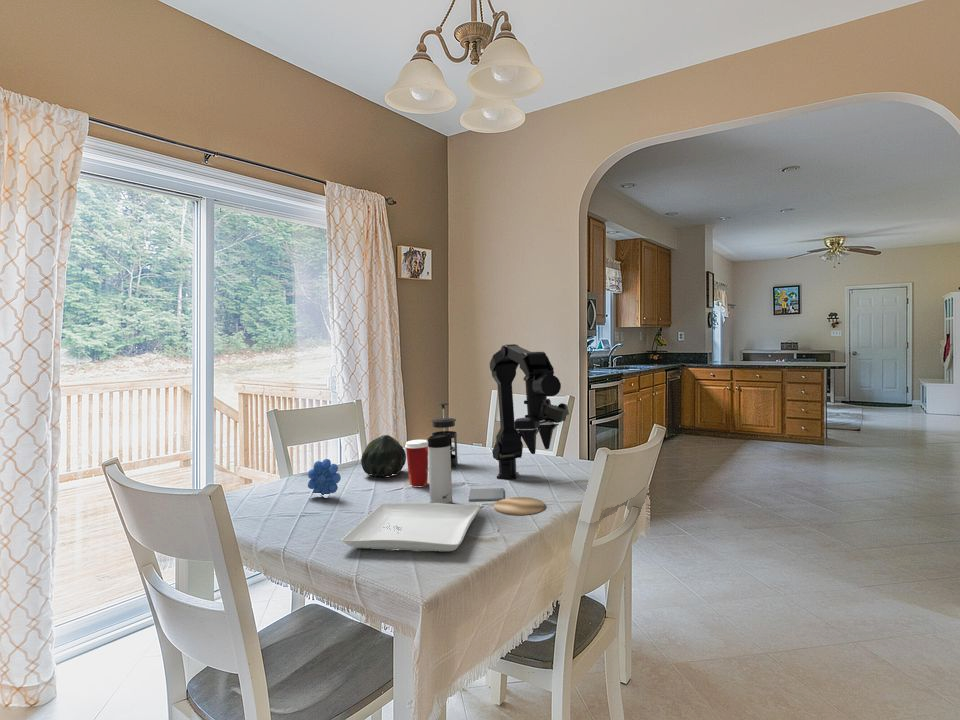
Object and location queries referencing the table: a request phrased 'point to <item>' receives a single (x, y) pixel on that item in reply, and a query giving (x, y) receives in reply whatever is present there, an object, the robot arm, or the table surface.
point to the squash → (383, 457)
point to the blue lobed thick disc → (324, 477)
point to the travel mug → (440, 469)
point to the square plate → (413, 527)
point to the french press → (444, 424)
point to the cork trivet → (519, 506)
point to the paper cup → (417, 462)
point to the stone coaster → (486, 494)
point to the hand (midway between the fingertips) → (540, 451)
